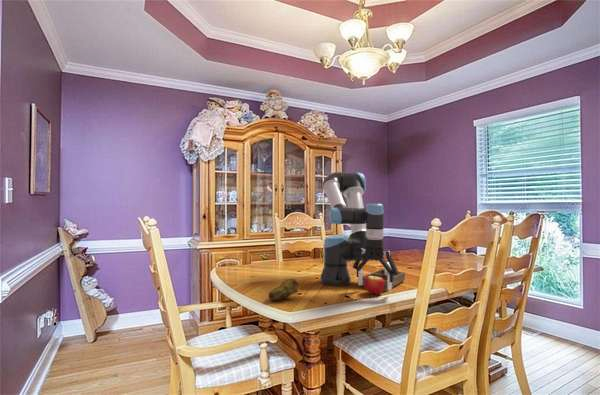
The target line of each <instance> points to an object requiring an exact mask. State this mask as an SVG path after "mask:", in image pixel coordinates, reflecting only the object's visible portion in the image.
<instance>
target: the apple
mask: <svg viewBox="0 0 600 395" xmlns="http://www.w3.org/2000/svg"><path fill="white" fill-rule="evenodd" d="M371 273H372V274H373V272H372V270H370V274H371ZM365 287H366V288H365V289H366V291H367V292H368V293H369V294H371V295H374V294H377V295H380V294H381V293H382V292H384V291H383V289H384V279H383V278H380V277H376V276H374V275H373V276H368V277H366V278H365Z"/></svg>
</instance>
